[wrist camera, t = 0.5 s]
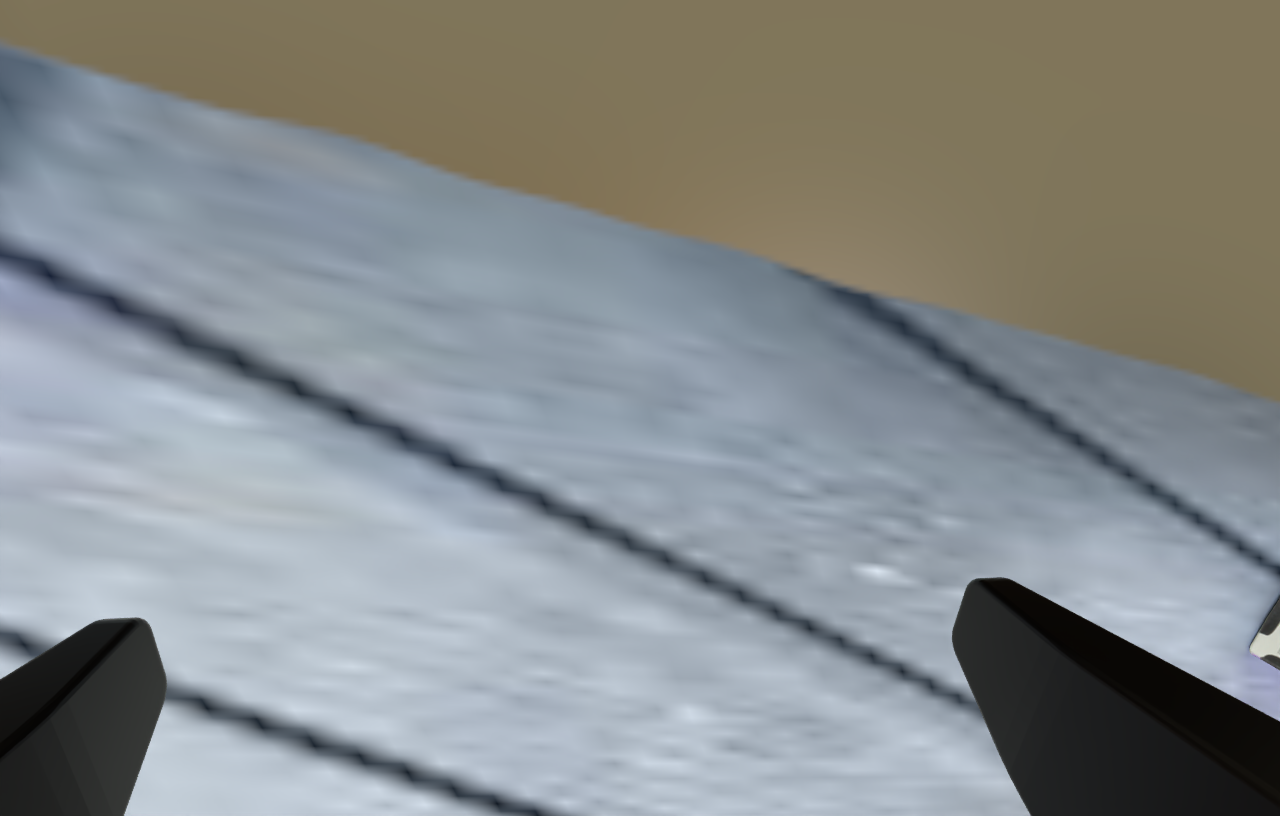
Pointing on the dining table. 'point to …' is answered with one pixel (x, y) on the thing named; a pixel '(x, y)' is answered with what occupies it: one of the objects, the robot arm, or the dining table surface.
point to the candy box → (1269, 639)
